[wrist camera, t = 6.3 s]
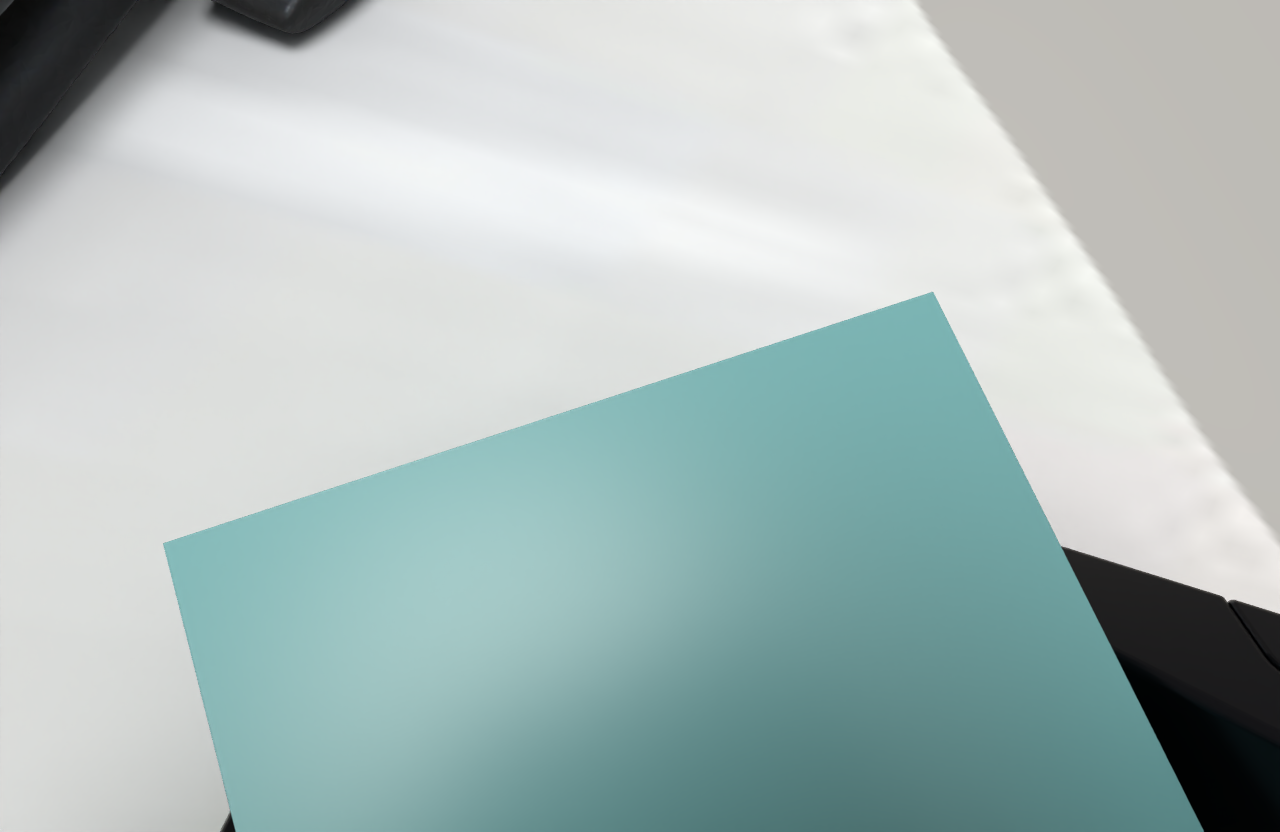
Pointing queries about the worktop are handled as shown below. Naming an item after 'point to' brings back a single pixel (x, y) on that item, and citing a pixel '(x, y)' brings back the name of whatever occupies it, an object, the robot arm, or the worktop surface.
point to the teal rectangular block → (681, 621)
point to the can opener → (88, 50)
